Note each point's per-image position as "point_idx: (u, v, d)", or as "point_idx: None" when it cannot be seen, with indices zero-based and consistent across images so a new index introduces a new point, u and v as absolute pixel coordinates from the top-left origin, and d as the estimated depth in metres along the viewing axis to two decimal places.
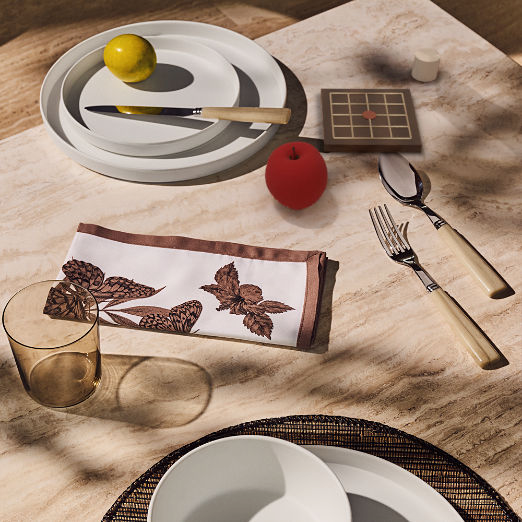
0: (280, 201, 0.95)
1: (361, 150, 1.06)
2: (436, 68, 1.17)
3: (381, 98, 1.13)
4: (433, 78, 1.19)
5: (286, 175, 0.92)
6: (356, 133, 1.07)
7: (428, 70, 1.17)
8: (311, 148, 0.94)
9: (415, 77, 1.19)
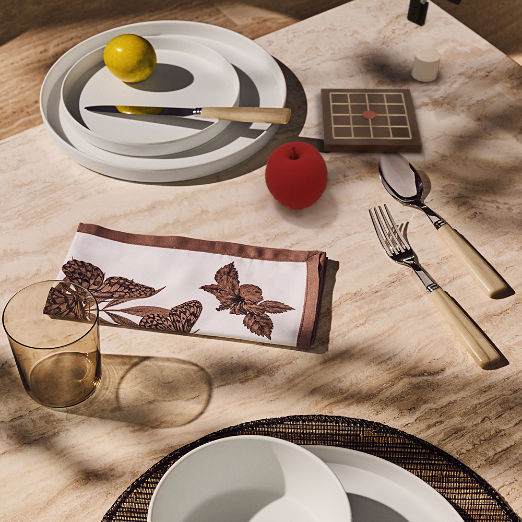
0: (280, 201, 0.95)
1: (361, 150, 1.06)
2: (436, 68, 1.17)
3: (381, 98, 1.13)
4: (433, 78, 1.19)
5: (286, 175, 0.92)
6: (356, 133, 1.07)
7: (428, 70, 1.17)
8: (311, 148, 0.94)
9: (415, 77, 1.19)
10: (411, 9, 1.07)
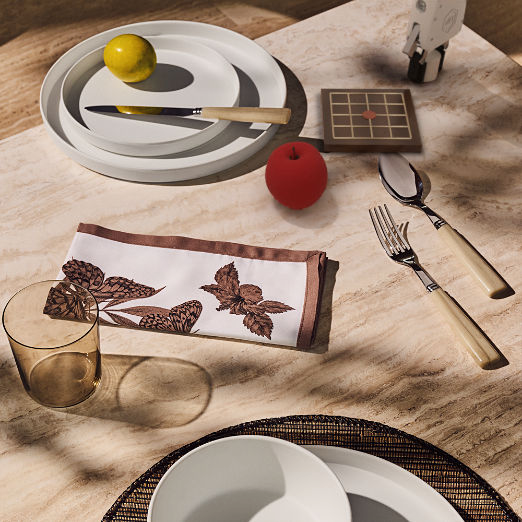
0: (280, 201, 0.95)
1: (361, 150, 1.06)
2: (436, 68, 1.17)
3: (381, 98, 1.13)
4: (433, 78, 1.19)
5: (286, 175, 0.92)
6: (356, 133, 1.07)
7: (428, 70, 1.17)
8: (311, 148, 0.94)
9: None
10: (411, 68, 1.17)
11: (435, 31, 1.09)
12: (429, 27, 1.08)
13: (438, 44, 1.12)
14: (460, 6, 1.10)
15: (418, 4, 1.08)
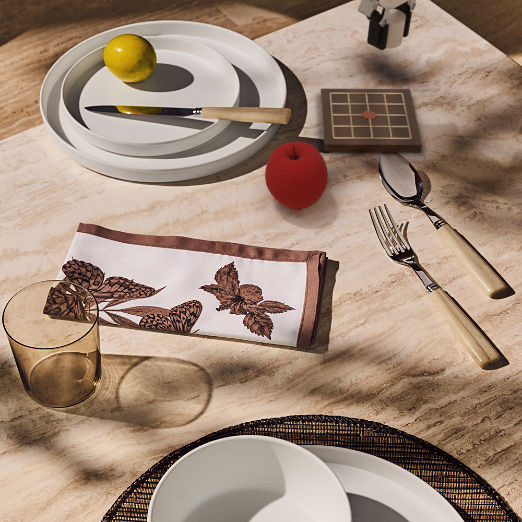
0: (280, 201, 0.95)
1: (361, 150, 1.06)
2: (400, 32, 1.00)
3: (381, 98, 1.13)
4: (398, 45, 1.01)
5: (286, 175, 0.92)
6: (356, 133, 1.07)
7: (391, 33, 0.99)
8: (311, 148, 0.94)
9: None
10: (370, 32, 0.99)
11: None
12: None
13: (401, 1, 0.94)
14: None
15: None
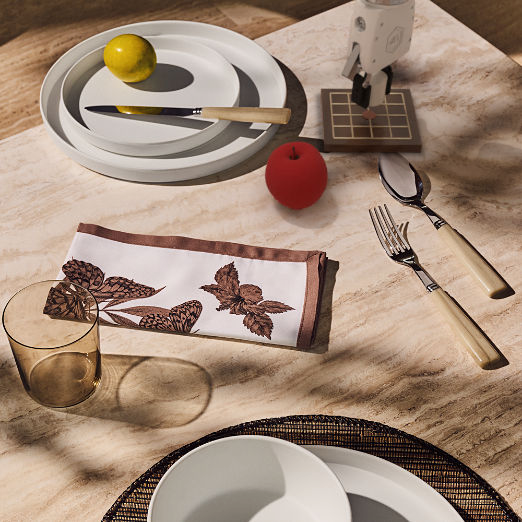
0: (280, 201, 0.95)
1: (361, 150, 1.06)
2: (382, 91, 1.05)
3: None
4: (380, 103, 1.06)
5: (286, 175, 0.92)
6: (356, 133, 1.07)
7: (373, 93, 1.04)
8: (311, 148, 0.94)
9: None
10: (354, 92, 1.04)
11: (377, 52, 0.96)
12: (370, 48, 0.95)
13: (382, 66, 0.99)
14: (406, 24, 0.98)
15: (358, 21, 0.96)
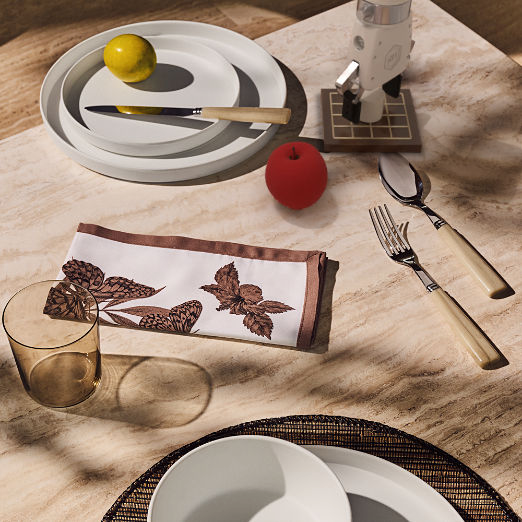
0: (280, 201, 0.95)
1: (361, 150, 1.06)
2: (380, 108, 1.07)
3: None
4: (378, 119, 1.08)
5: (286, 175, 0.92)
6: (356, 133, 1.07)
7: (372, 110, 1.07)
8: (311, 148, 0.94)
9: None
10: (344, 108, 1.04)
11: (375, 70, 0.99)
12: (368, 66, 0.97)
13: (381, 83, 1.01)
14: (404, 41, 1.00)
15: (356, 40, 0.98)
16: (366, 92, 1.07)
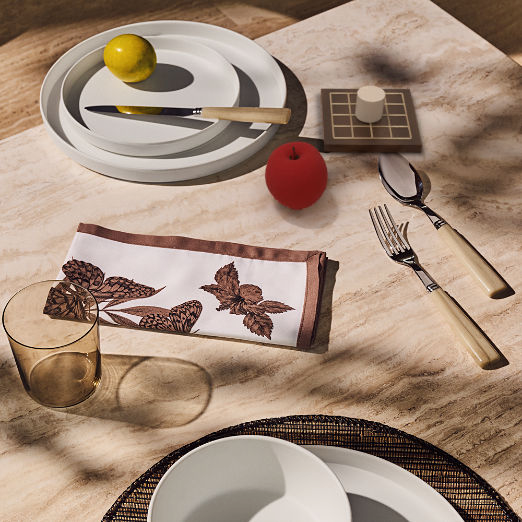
0: (280, 201, 0.95)
1: (361, 150, 1.06)
2: (380, 108, 1.07)
3: None
4: (378, 119, 1.08)
5: (286, 175, 0.92)
6: (356, 133, 1.07)
7: (372, 110, 1.07)
8: (311, 148, 0.94)
9: (358, 117, 1.09)
10: None
11: None
12: None
13: None
14: None
15: None
16: (366, 92, 1.07)
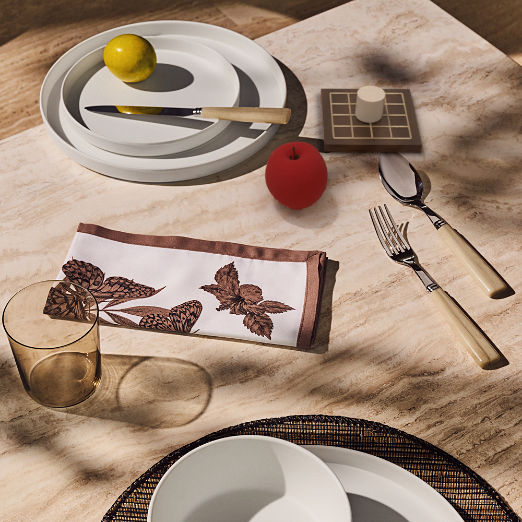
0: (280, 201, 0.95)
1: (361, 150, 1.06)
2: (380, 108, 1.07)
3: None
4: (378, 119, 1.08)
5: (286, 175, 0.92)
6: (356, 133, 1.07)
7: (372, 110, 1.07)
8: (311, 148, 0.94)
9: (358, 117, 1.09)
10: None
11: None
12: None
13: None
14: None
15: None
16: (366, 92, 1.07)
